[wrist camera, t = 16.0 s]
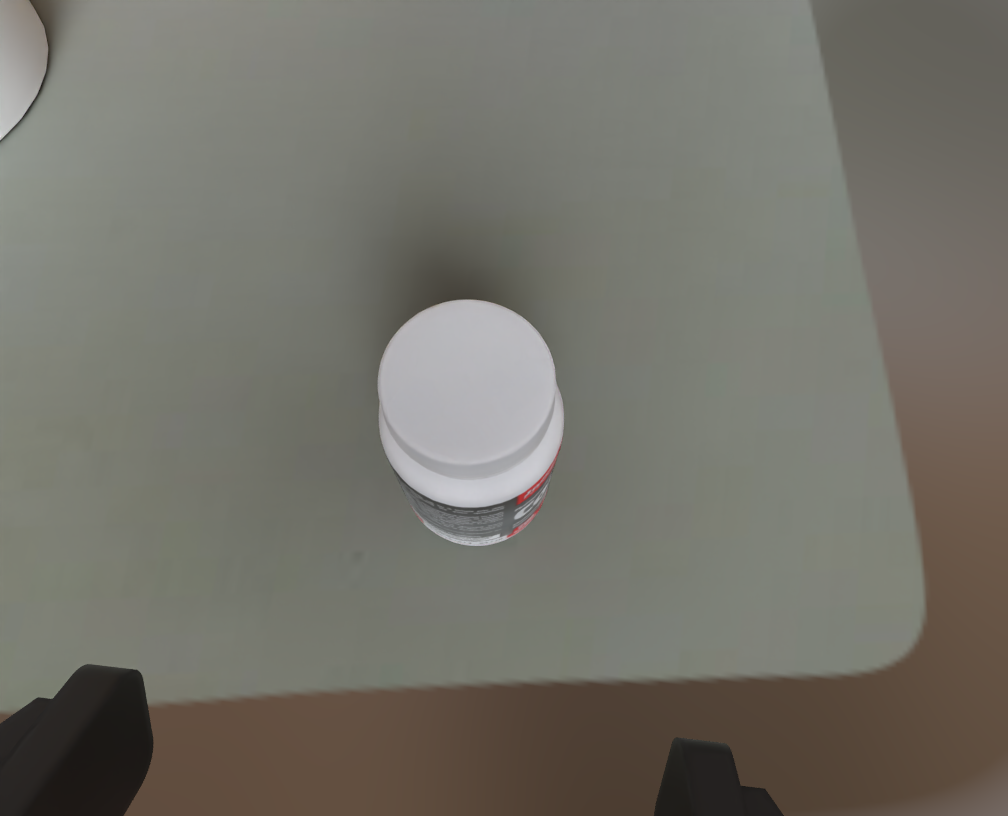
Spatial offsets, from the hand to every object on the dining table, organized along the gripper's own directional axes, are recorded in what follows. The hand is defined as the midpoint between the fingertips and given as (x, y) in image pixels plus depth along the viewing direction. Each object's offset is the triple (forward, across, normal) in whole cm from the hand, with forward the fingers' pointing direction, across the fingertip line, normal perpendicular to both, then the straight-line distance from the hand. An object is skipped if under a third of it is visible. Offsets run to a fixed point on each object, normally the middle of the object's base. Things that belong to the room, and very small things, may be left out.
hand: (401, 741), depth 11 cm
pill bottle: (+13, 0, +3) cm, 13 cm away
